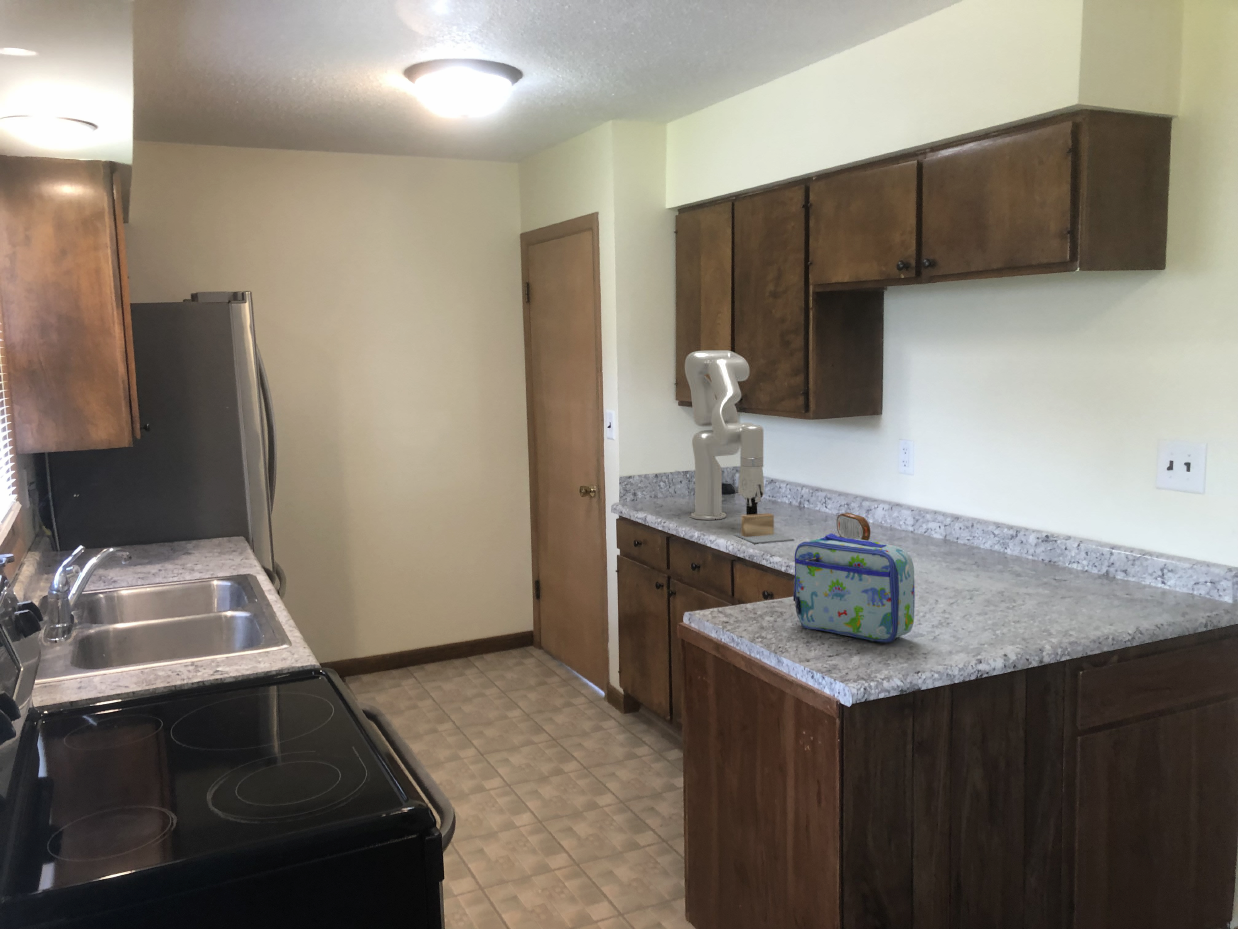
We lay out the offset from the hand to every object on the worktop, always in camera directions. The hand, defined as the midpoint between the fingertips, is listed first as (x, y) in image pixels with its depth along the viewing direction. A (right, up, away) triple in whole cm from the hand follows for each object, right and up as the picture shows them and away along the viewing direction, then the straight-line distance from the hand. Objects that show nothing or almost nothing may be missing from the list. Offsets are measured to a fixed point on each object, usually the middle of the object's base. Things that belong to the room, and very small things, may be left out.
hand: (751, 517), depth 317 cm
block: (+1, -5, -4) cm, 7 cm away
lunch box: (+7, -19, -108) cm, 110 cm away
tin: (+30, -7, -13) cm, 34 cm away
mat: (+3, -6, -7) cm, 10 cm away
